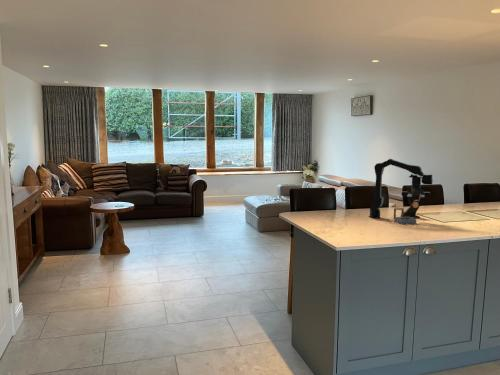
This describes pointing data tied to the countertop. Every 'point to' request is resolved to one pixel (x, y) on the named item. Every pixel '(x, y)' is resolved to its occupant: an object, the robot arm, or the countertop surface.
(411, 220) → the tray
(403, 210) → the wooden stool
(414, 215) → the sculpture
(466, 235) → the countertop surface
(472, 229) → the countertop surface
